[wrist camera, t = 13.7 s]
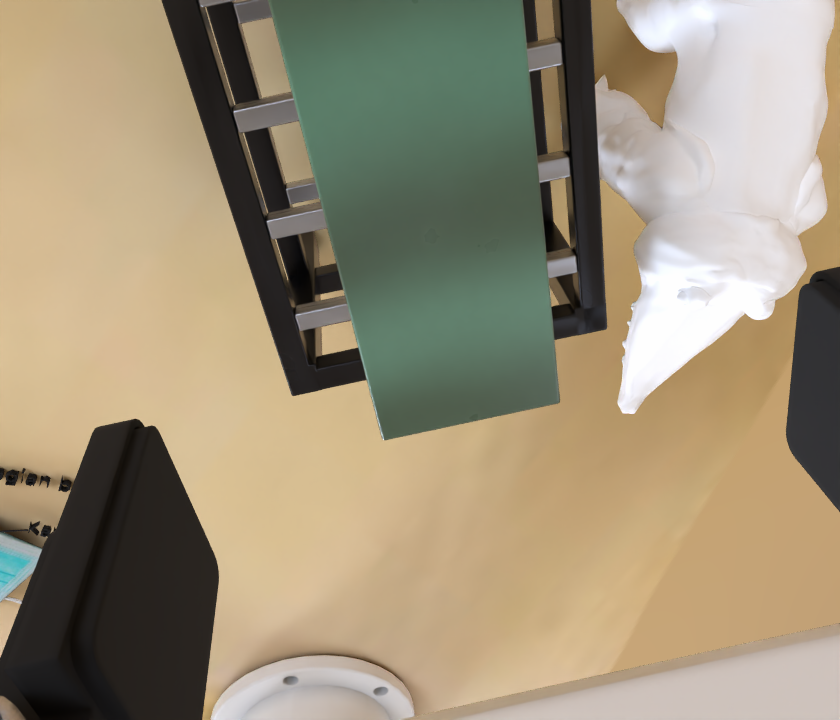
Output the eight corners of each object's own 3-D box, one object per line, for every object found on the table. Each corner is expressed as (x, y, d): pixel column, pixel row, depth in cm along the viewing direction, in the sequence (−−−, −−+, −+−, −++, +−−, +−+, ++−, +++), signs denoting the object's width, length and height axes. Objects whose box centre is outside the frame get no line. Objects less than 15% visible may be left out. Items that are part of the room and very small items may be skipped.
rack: (532, 206, 33) (607, 329, 25) (295, 256, 33) (292, 397, 25) (490, -201, 25) (581, -221, 17) (181, -136, 25) (120, -124, 17)
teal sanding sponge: (267, -75, 18) (255, -48, 14) (465, -116, 18) (514, -103, 14) (369, 336, 24) (382, 442, 20) (516, 305, 24) (560, 403, 20)
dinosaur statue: (494, 295, 35) (562, 458, 26) (719, -435, 23) (1000, -620, 14) (635, 316, 37) (746, 477, 27) (918, -359, 24) (1291, -480, 15)
